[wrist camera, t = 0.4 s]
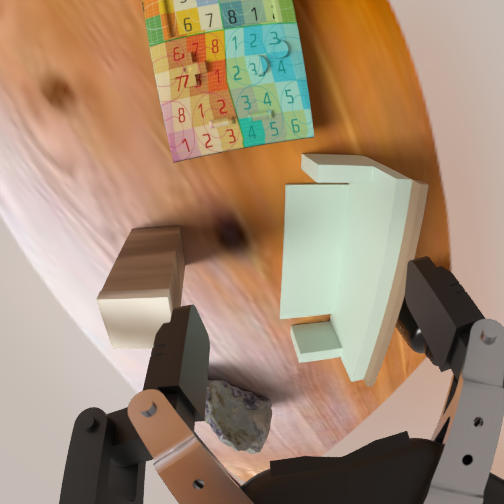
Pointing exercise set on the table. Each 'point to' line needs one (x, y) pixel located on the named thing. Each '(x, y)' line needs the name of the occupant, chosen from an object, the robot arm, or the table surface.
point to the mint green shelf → (348, 258)
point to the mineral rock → (237, 416)
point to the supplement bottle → (412, 332)
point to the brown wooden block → (143, 287)
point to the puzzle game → (228, 74)
